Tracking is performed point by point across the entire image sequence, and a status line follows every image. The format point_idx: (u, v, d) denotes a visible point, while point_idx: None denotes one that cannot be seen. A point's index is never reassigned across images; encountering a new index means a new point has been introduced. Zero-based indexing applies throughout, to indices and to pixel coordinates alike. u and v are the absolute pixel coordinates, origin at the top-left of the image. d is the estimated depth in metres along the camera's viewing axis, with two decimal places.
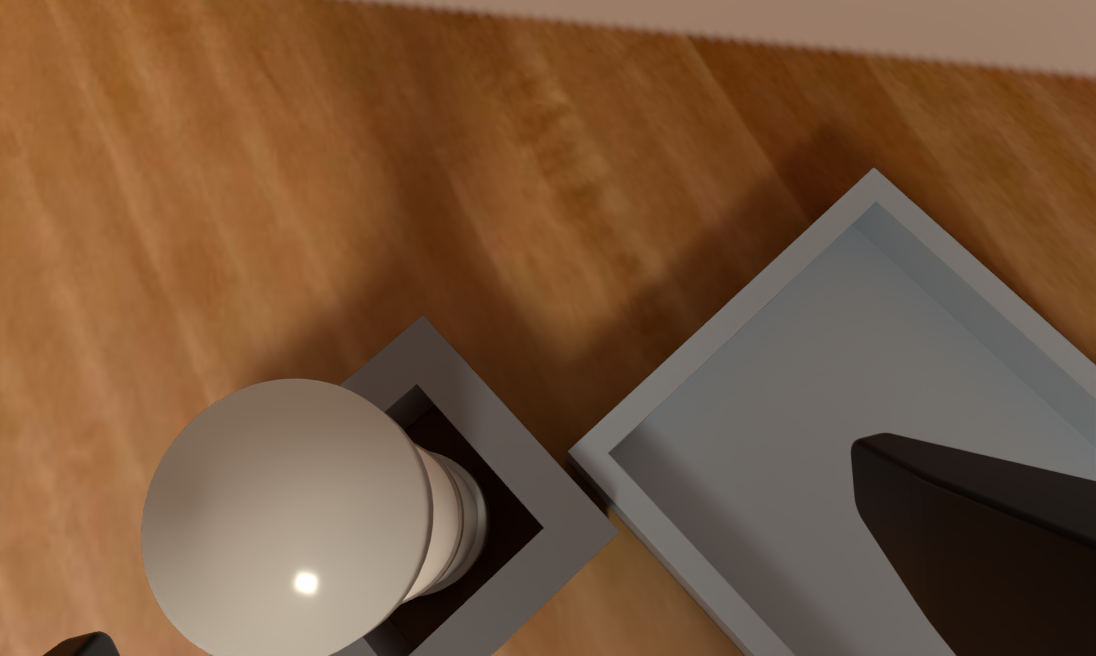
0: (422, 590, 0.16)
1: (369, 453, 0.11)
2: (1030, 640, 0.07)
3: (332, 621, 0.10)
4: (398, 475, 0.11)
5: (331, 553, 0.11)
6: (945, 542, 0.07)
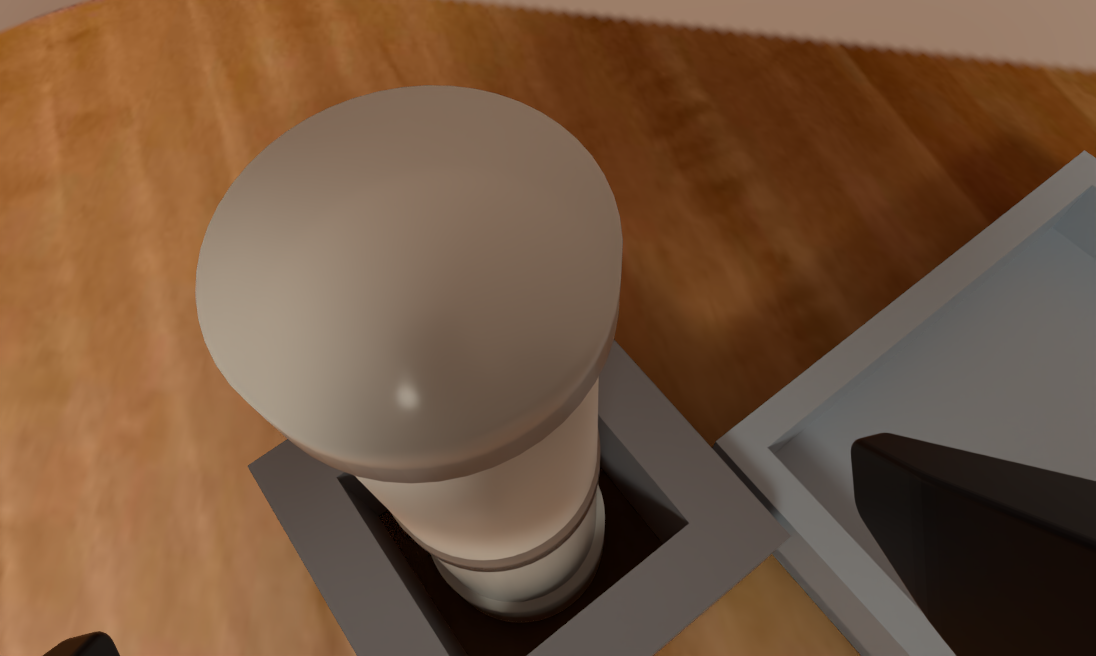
0: (544, 542, 0.12)
1: (542, 173, 0.07)
2: (1030, 640, 0.07)
3: (472, 389, 0.06)
4: (585, 203, 0.07)
5: (479, 296, 0.07)
6: (945, 542, 0.07)
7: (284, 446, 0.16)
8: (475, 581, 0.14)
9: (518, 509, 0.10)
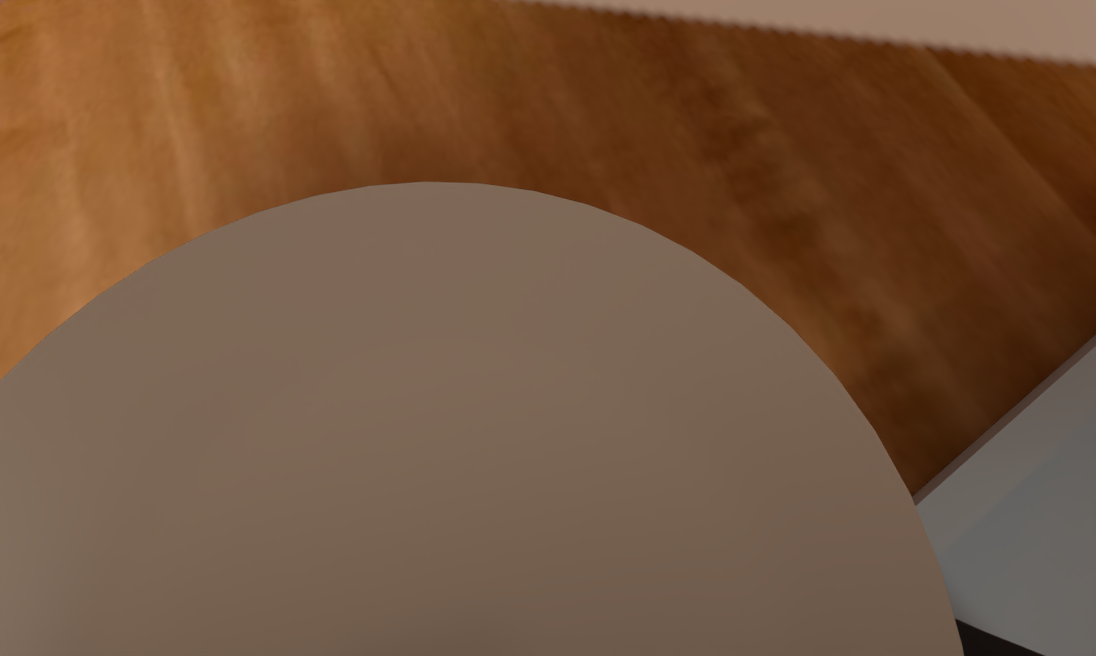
0: None
1: (717, 425, 0.03)
2: None
3: None
4: (838, 517, 0.03)
5: None
6: None
7: None
8: None
9: None
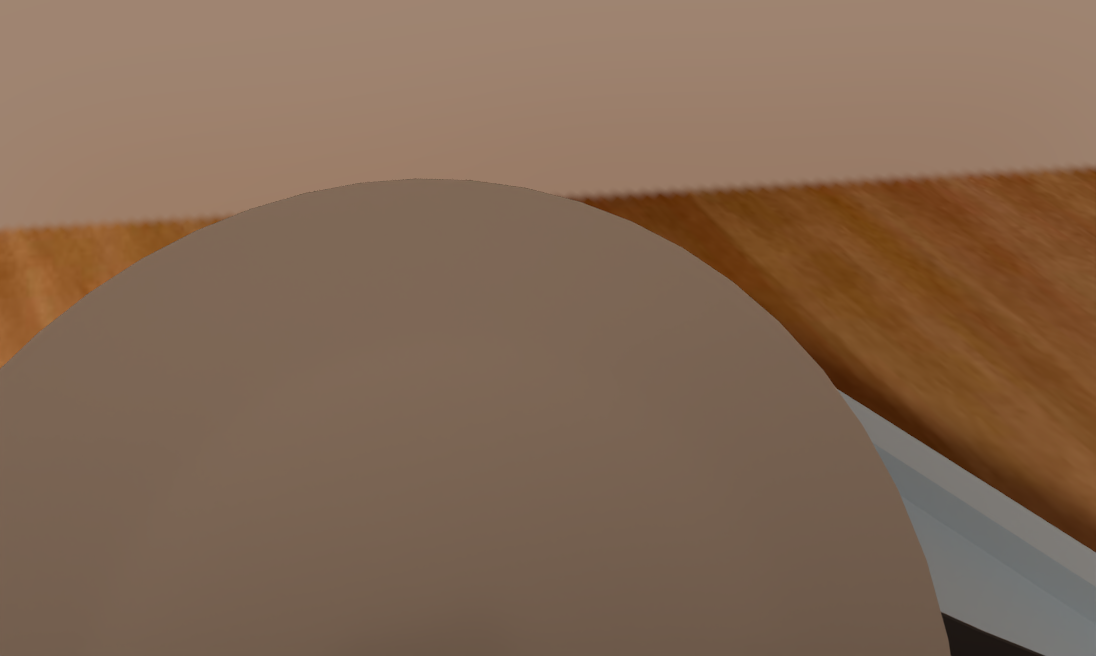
0: None
1: (707, 420, 0.03)
2: None
3: None
4: (825, 511, 0.03)
5: None
6: None
7: None
8: None
9: None
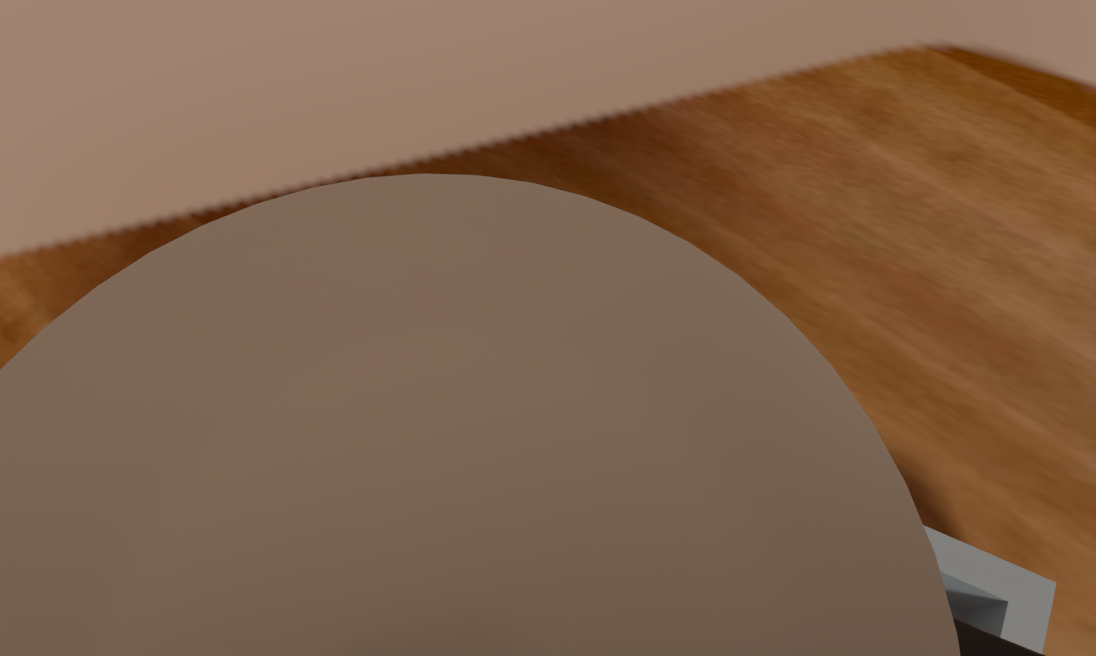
0: None
1: (712, 415, 0.03)
2: None
3: None
4: (833, 504, 0.03)
5: None
6: None
7: None
8: None
9: None
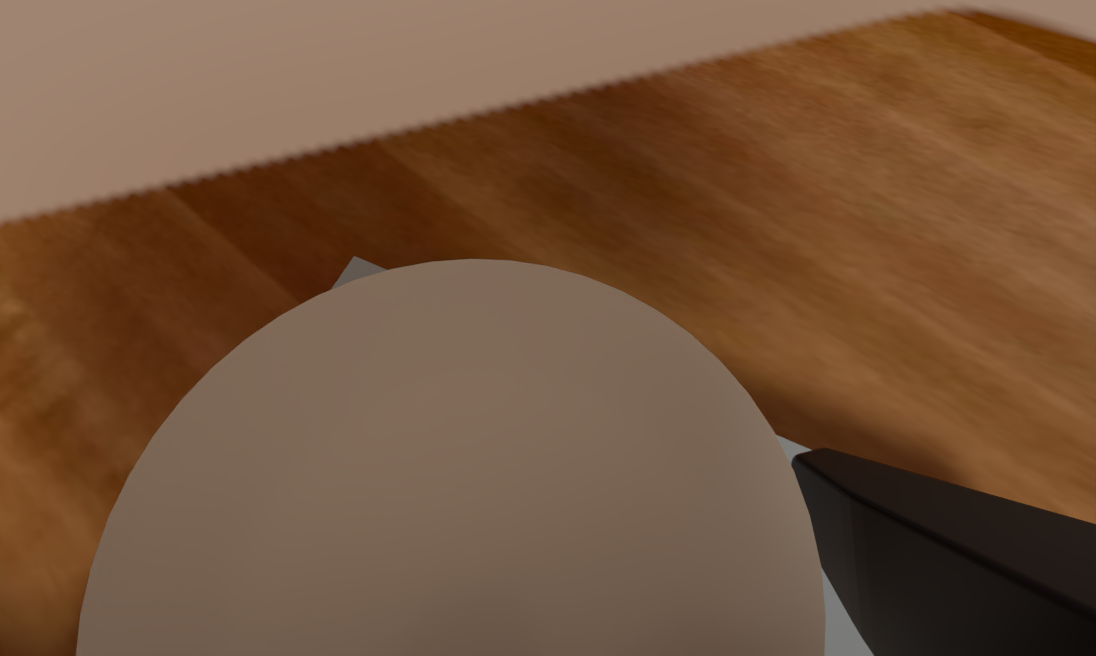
0: None
1: (669, 427, 0.04)
2: None
3: None
4: (746, 485, 0.04)
5: None
6: (873, 561, 0.07)
7: None
8: None
9: None
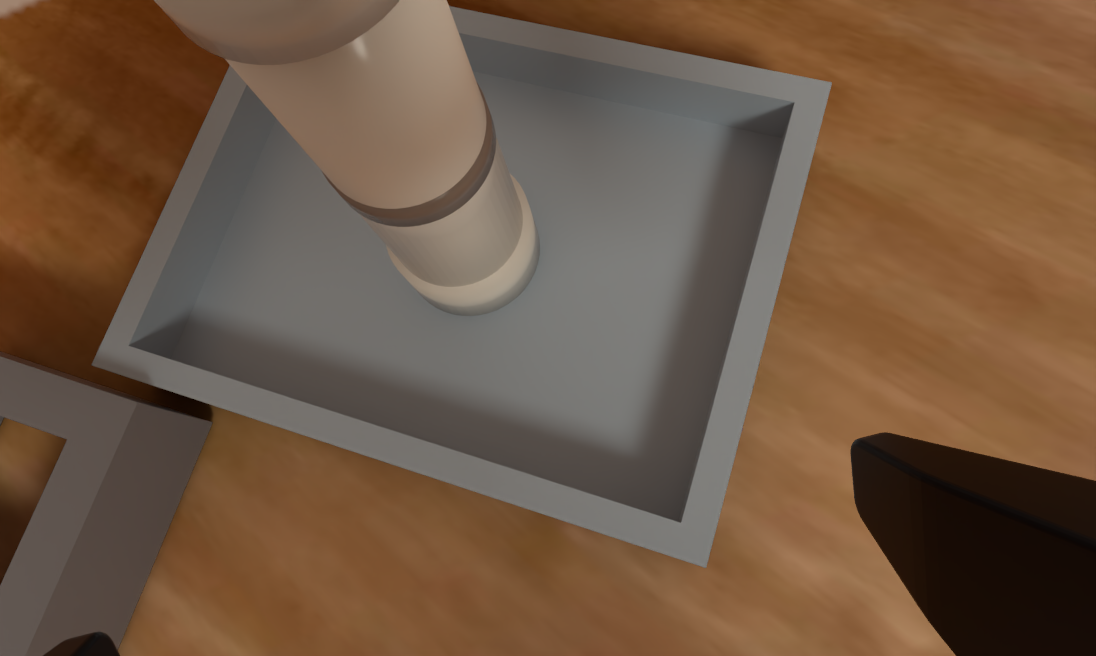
0: (452, 185, 0.15)
1: None
2: (1030, 640, 0.07)
3: None
4: None
5: None
6: (945, 542, 0.07)
7: None
8: (420, 253, 0.18)
9: (407, 126, 0.13)
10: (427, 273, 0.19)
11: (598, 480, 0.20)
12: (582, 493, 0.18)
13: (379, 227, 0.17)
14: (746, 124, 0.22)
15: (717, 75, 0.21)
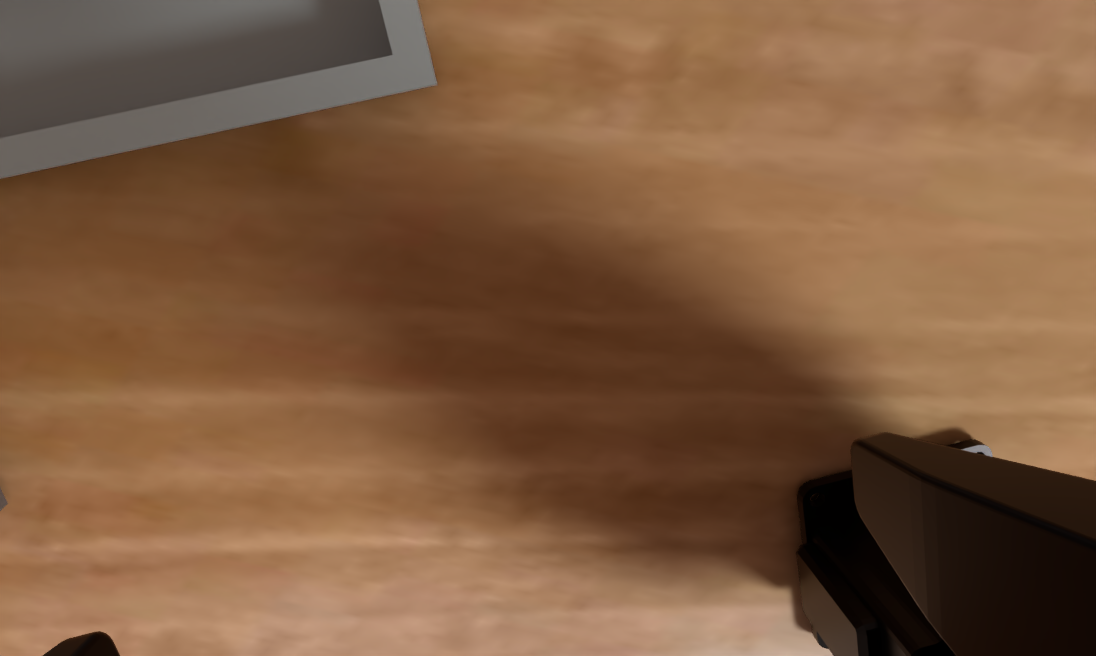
0: None
1: None
2: (1030, 640, 0.07)
3: None
4: None
5: None
6: (945, 542, 0.07)
7: None
8: None
9: None
10: None
11: (300, 58, 0.18)
12: (286, 80, 0.17)
13: None
14: None
15: None
